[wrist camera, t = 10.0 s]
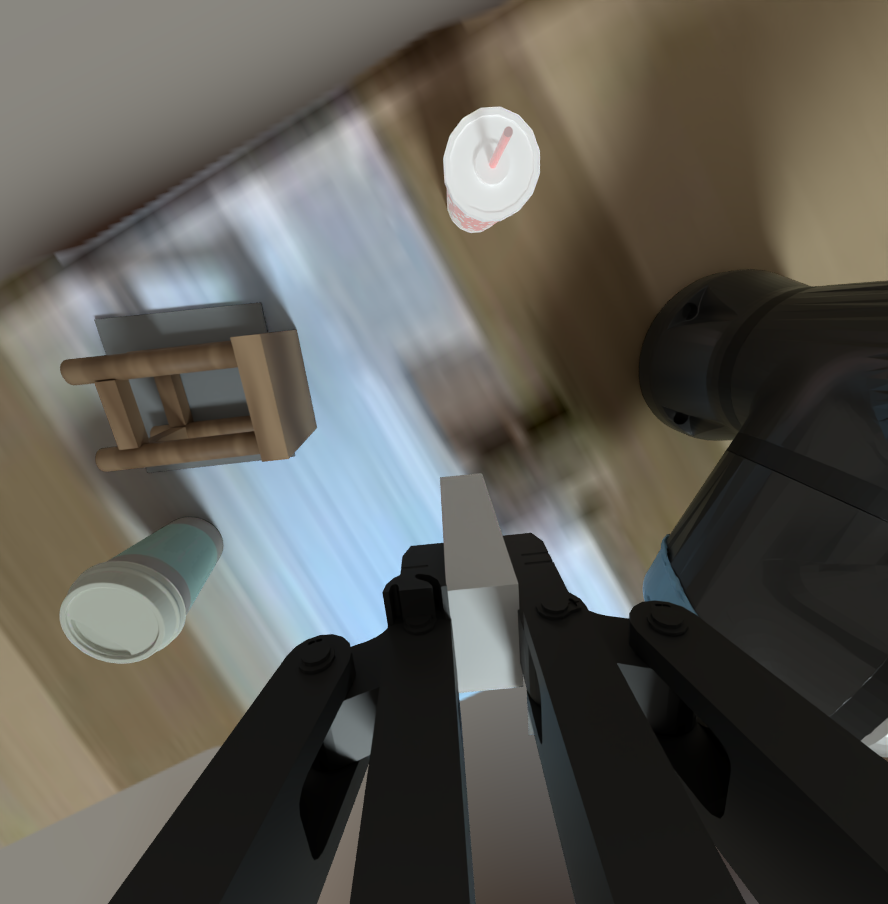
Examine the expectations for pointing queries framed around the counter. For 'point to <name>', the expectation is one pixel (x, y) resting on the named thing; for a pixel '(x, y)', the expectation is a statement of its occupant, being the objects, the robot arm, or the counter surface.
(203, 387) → the mat
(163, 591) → the coffee cup
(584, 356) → the counter surface
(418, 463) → the counter surface
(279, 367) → the stool
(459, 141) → the beverage cup
